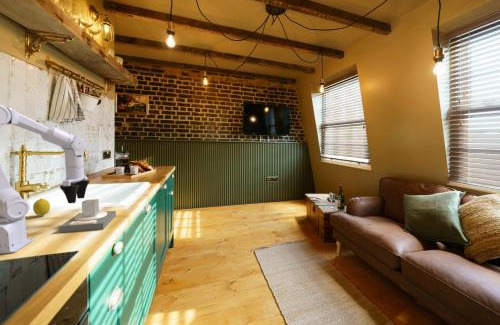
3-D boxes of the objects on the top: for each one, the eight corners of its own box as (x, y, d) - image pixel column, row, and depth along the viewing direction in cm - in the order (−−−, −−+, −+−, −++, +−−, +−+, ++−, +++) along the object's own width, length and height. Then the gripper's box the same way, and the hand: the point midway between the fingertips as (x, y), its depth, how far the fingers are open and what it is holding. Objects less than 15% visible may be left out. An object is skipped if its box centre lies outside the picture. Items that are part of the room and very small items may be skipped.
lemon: (40, 218, 98) (39, 200, 97) (30, 217, 99) (28, 199, 98) (53, 214, 104) (52, 197, 103) (44, 213, 105) (42, 196, 104)
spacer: (95, 216, 92) (94, 201, 92) (82, 217, 91) (81, 202, 91) (99, 213, 97) (98, 199, 96) (87, 213, 95) (86, 199, 95)
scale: (103, 229, 87) (103, 221, 87) (60, 232, 84) (59, 224, 83) (116, 216, 103) (115, 209, 103) (79, 218, 99) (79, 211, 99)
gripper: (77, 168, 84) (79, 204, 86) (93, 164, 98) (95, 195, 100) (55, 169, 83) (57, 205, 84) (74, 165, 97) (76, 196, 98)
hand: (76, 200), depth 92 cm, fingers open, 7 cm apart
